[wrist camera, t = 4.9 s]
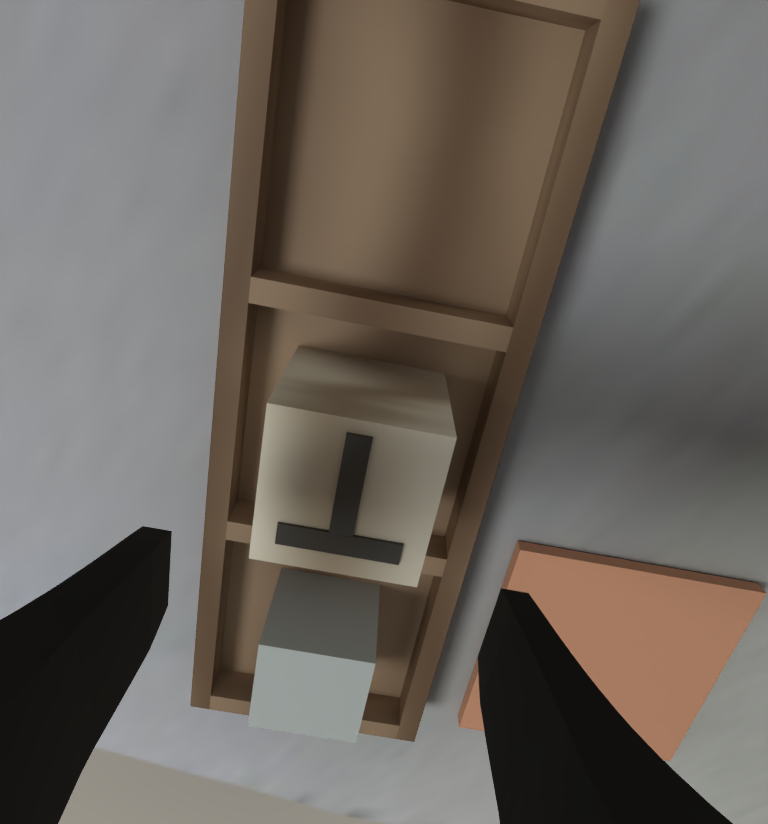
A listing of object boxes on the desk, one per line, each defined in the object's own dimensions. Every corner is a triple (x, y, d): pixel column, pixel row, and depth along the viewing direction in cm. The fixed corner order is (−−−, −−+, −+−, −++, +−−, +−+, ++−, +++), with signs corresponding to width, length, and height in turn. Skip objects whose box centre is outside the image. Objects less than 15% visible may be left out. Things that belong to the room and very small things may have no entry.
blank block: (380, 584, 24) (375, 663, 20) (363, 657, 25) (356, 743, 21) (281, 567, 23) (258, 644, 20) (270, 642, 25) (247, 725, 21)
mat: (758, 583, 24) (766, 593, 23) (664, 748, 28) (670, 760, 27) (517, 540, 23) (520, 550, 23) (457, 715, 27) (459, 726, 27)
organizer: (616, 7, 16) (644, -12, 14) (413, 701, 27) (414, 741, 25) (270, -70, 16) (252, -100, 14) (205, 668, 26) (190, 706, 25)
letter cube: (444, 373, 20) (456, 439, 15) (414, 496, 22) (417, 589, 17) (298, 345, 20) (265, 404, 15) (281, 473, 22) (247, 560, 17)
